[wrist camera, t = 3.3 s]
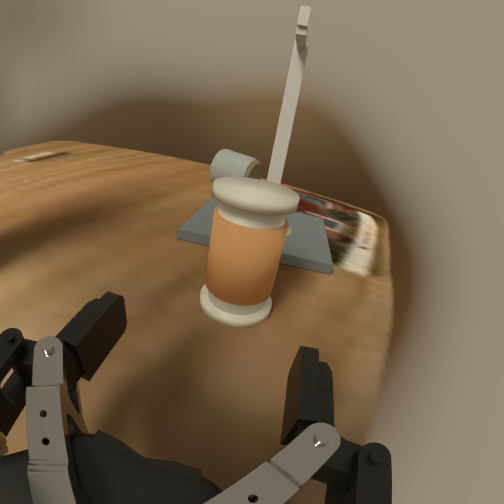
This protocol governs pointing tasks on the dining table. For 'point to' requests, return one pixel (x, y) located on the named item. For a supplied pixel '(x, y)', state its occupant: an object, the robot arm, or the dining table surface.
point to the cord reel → (245, 249)
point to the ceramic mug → (234, 166)
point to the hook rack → (300, 225)
